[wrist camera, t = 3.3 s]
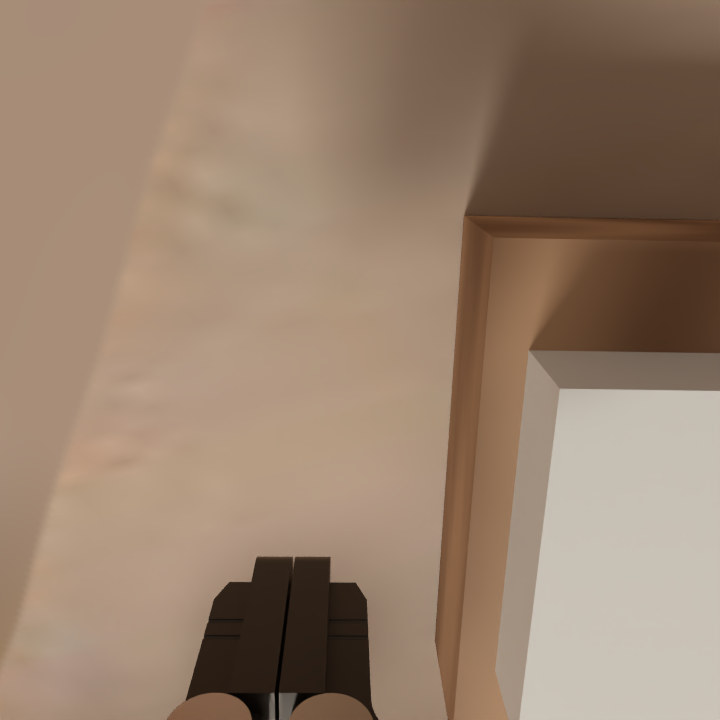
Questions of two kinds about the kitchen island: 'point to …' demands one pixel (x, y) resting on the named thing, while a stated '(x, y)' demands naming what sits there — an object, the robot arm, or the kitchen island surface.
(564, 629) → the white flat block
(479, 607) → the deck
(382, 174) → the kitchen island surface
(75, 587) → the kitchen island surface
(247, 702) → the robot arm
